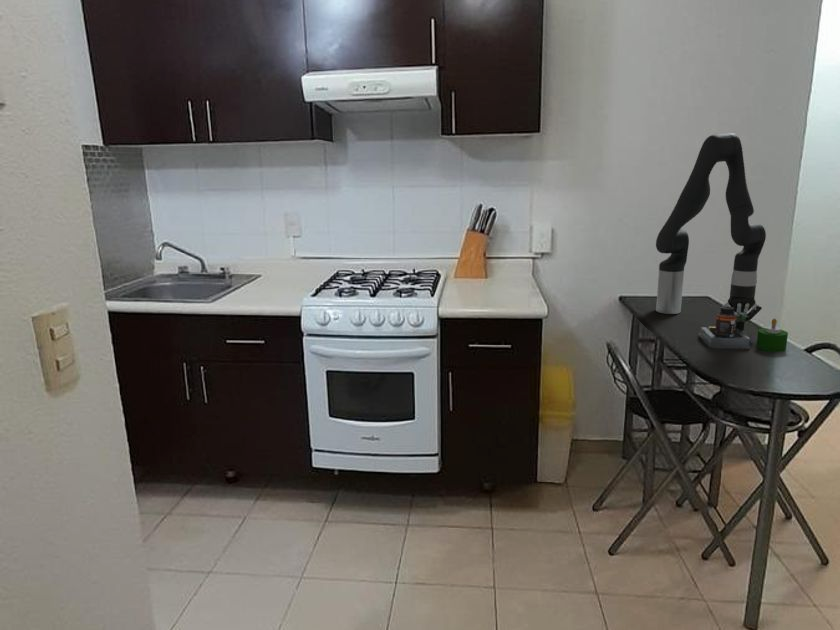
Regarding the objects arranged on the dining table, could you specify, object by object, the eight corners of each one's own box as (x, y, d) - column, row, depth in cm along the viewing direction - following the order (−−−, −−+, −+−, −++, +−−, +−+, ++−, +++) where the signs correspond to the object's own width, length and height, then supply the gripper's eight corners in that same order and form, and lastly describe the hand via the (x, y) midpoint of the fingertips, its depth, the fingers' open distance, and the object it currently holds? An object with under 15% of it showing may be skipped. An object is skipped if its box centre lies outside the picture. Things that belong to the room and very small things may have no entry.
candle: (759, 351, 188) (762, 321, 185) (753, 343, 196) (757, 314, 193) (788, 352, 185) (792, 322, 183) (782, 345, 193) (785, 315, 190)
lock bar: (707, 334, 206) (708, 323, 205) (732, 335, 205) (733, 324, 204) (709, 335, 205) (710, 324, 204) (733, 336, 203) (734, 325, 202)
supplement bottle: (736, 343, 193) (740, 309, 190) (717, 342, 194) (720, 309, 191) (731, 337, 199) (734, 305, 196) (712, 337, 200) (715, 305, 197)
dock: (698, 335, 205) (699, 326, 204) (735, 336, 203) (736, 326, 202) (710, 348, 192) (711, 338, 191) (749, 349, 190) (751, 338, 189)
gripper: (760, 280, 202) (754, 329, 206) (719, 280, 204) (714, 328, 208) (769, 285, 194) (763, 335, 199) (726, 285, 197) (721, 334, 201)
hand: (738, 331), depth 204 cm, fingers closed
